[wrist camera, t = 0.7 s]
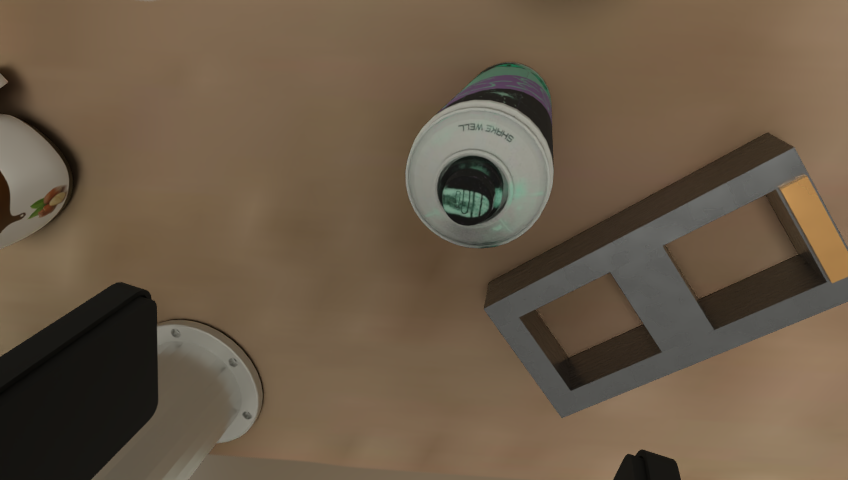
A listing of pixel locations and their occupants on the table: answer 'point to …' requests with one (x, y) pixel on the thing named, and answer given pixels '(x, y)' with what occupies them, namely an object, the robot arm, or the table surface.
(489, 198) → the spray can
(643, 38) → the table surface
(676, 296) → the grey rectangular grid frame
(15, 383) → the robot arm
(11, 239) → the spread jar
